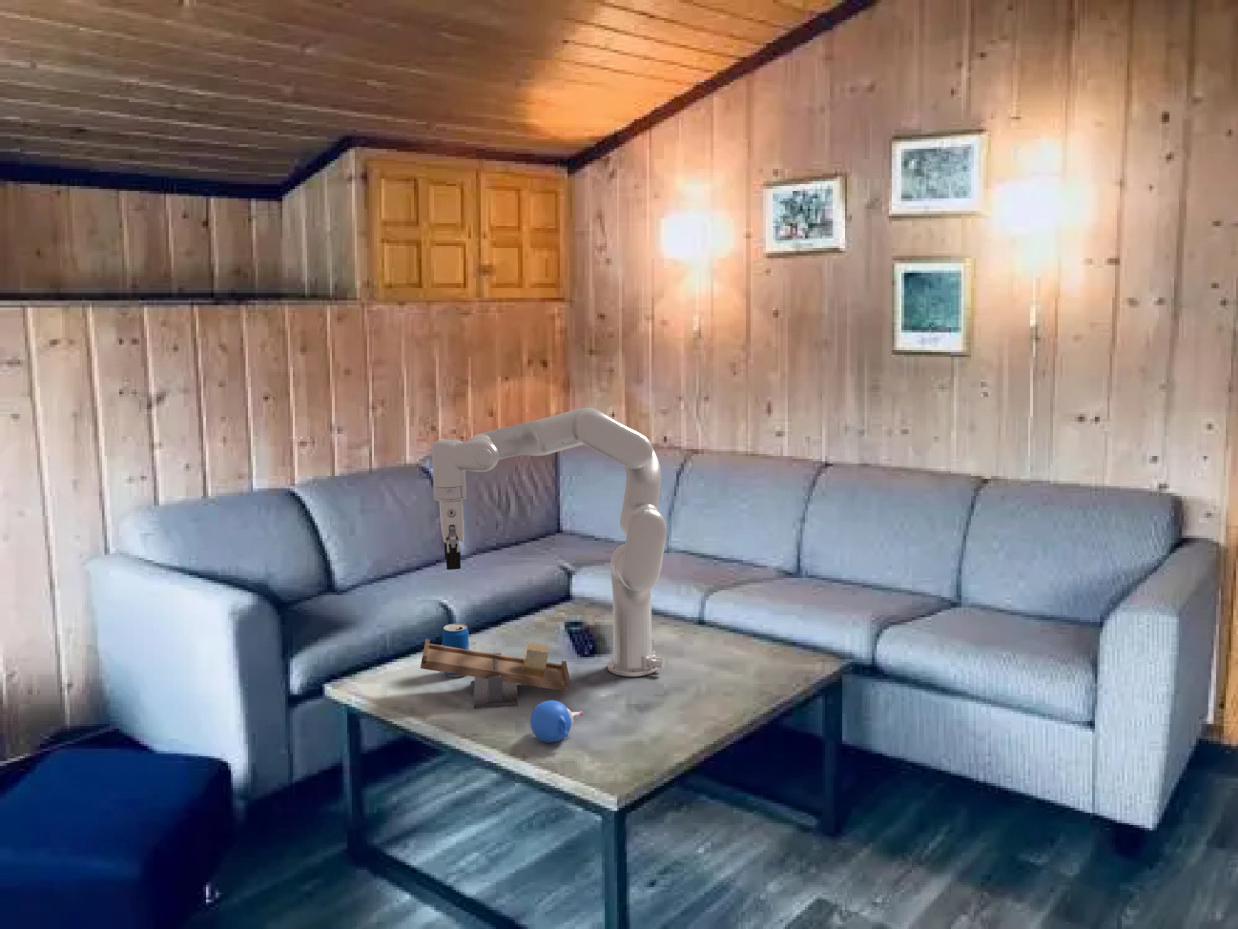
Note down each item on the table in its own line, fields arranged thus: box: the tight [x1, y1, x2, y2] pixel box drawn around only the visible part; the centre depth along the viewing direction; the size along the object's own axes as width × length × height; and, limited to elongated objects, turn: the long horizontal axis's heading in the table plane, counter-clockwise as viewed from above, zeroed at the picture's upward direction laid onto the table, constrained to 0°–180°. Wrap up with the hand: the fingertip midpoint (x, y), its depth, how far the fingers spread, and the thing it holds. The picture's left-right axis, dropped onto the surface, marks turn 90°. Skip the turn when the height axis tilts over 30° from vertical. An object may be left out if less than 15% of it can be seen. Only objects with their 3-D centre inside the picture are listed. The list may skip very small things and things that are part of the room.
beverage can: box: [441, 623, 470, 678], centre depth 260 cm, size 6×6×12 cm
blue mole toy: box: [530, 699, 584, 743], centre depth 222 cm, size 12×12×8 cm
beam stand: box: [473, 652, 519, 710], centre depth 248 cm, size 10×18×7 cm, turn 7°
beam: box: [419, 638, 571, 692], centre depth 247 cm, size 34×13×3 cm, turn 97°
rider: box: [522, 642, 549, 677], centre depth 248 cm, size 5×5×6 cm
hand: (452, 563), depth 249 cm, fingers open, 9 cm apart
